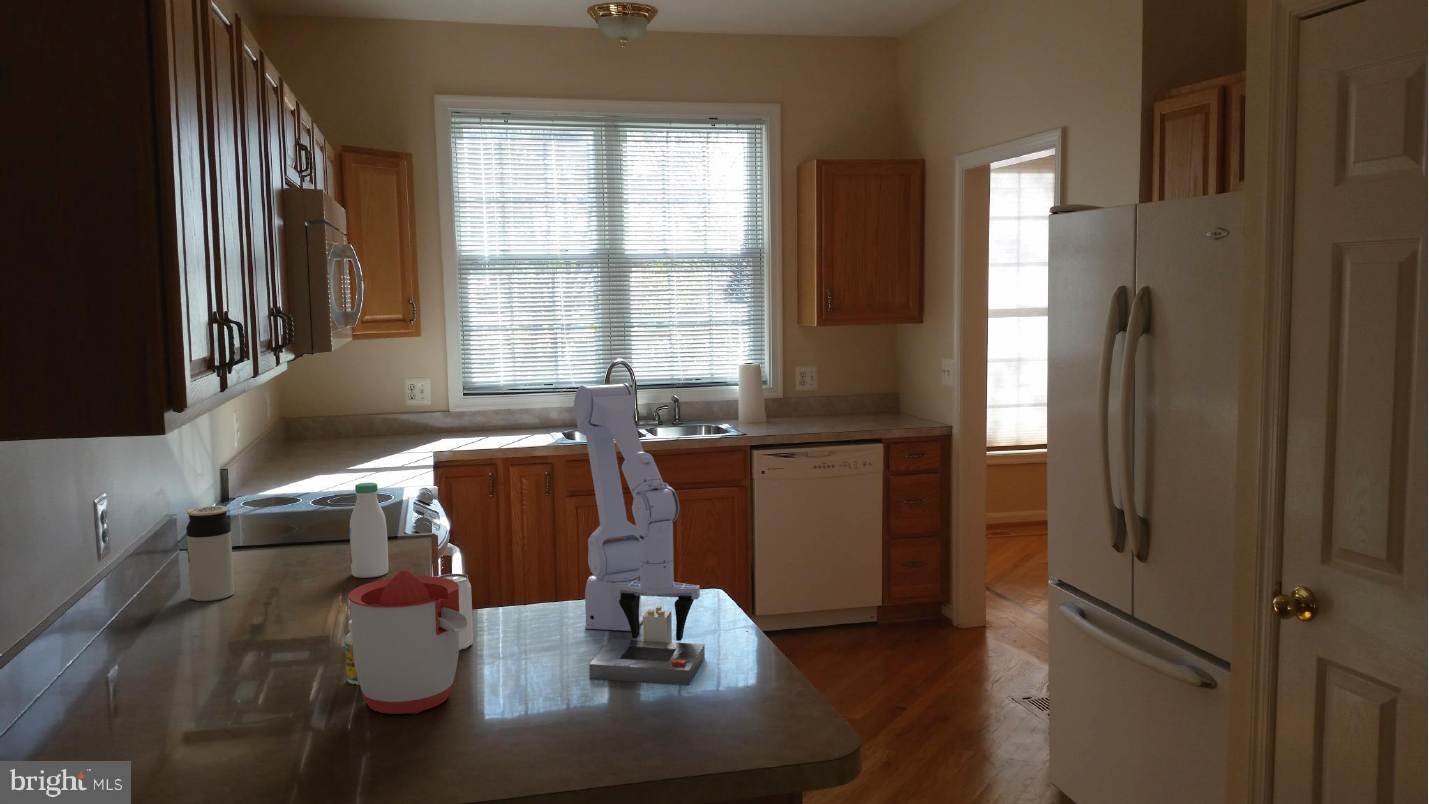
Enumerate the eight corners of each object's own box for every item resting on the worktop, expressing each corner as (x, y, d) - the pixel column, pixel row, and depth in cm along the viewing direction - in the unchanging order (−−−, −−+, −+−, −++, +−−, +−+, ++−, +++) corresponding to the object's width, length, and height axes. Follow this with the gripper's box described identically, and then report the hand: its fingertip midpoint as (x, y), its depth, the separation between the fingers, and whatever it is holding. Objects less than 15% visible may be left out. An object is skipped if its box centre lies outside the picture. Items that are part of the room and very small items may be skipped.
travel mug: (241, 590, 212) (236, 505, 210) (223, 601, 204) (218, 513, 202) (202, 591, 211) (196, 505, 210) (183, 602, 203) (177, 513, 202)
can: (480, 645, 176) (478, 577, 175) (447, 655, 172) (445, 585, 170) (459, 637, 181) (457, 570, 180) (427, 646, 176) (424, 578, 175)
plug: (643, 650, 173) (642, 611, 172) (649, 643, 177) (648, 604, 176) (666, 652, 172) (665, 612, 171) (671, 644, 176) (671, 605, 175)
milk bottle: (396, 572, 225) (392, 482, 223) (367, 580, 218) (363, 488, 216) (372, 567, 229) (369, 479, 227) (344, 575, 222) (339, 485, 220)
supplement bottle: (390, 677, 162) (387, 618, 161) (361, 688, 157) (358, 627, 156) (368, 670, 165) (365, 612, 164) (339, 681, 160) (336, 621, 159)
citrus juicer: (436, 729, 142) (431, 588, 140) (330, 715, 147) (323, 579, 145) (492, 688, 157) (488, 560, 155) (394, 677, 162) (389, 553, 160)
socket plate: (589, 678, 160) (589, 660, 160) (611, 652, 172) (611, 635, 171) (689, 685, 157) (688, 666, 157) (704, 658, 169) (704, 640, 168)
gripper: (608, 564, 170) (610, 643, 172) (693, 567, 168) (694, 647, 169) (620, 553, 177) (621, 629, 179) (701, 556, 174) (702, 634, 176)
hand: (657, 637), depth 174 cm, fingers open, 7 cm apart
